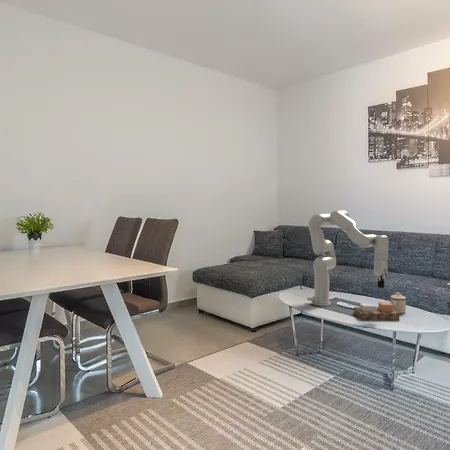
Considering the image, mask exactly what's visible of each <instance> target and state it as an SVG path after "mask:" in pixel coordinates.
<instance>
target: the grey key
mask: <svg viewBox="0 0 450 450" xmlns="http://www.w3.org/2000/svg"><path fill="white" fill-rule="evenodd" d="M359 307H360V310H361V311H363V312H374V307H375V305H373V304H372V303H364V302H362V303H359Z"/></svg>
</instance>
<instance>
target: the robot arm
mask: <svg viewBox="0 0 450 450" xmlns="http://www.w3.org/2000/svg"><path fill="white" fill-rule="evenodd" d="M329 226H330V227H331V226H332V227H333V226H337V227H338V228H340V230H342V231H343V232H344V233H346V235H347V236H348V238H349V239H350V240H351V241H352V242H353V243H354V244H356V245H357V246H358V247H360V248H364V249H365V248H373V247H374V255H373V256H374V257H373V259H374V262H373V274H374V276H376V277H377V287H378V288H379V289H383V288H385V280H386V278H387V277H388V275H389V274H388V273H389V270H388V267H389V266H388V260H389V237H388V235H384V234H382V235H380V234H379V235H377V234H373V233H369V234H364V233H362V232H361V231H360V230H359V229H358V228H356V226H357V222H356V221H355V220H353V219H352V218H350V214H349V213H348V212H347V211H346V210H333V211H332V212H328V213H316V214H314V215H312V216H311V217H310V219H309V220H308V230H309V234H310V240H311V247H312V251H313V253H314V254H315V255H319V257H316V258H315V259H314V260H313V264H312V266H313V271H314V273H313V274H314V286H313V288H314V289H313V290H314V291H313V294H314V295H313V296H312V297H309V296H308V297H306V300H307V301H310V302H311V304H313V305H315V306H320V307H328V306H331V305H332V302H331V301H330V274H329V270H332V269H334V268H336V265H337V258H336V252H335V246H334V244H333V242H332V241H331V240H330V239H326V238H325V235H324V231H323V229H322V227H329ZM320 255H321V256H320Z"/></svg>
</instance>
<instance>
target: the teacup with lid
mask: <svg viewBox="0 0 450 450" xmlns="http://www.w3.org/2000/svg"><path fill="white" fill-rule="evenodd" d="M389 298H390V302H389V303H391V304H392V305H393V309H394V310H395V311H397V312H398V313H400V314H404V313H406V304H407V302H406V301H407V297H406V296H404V295H402V294H401V292H396V293H395V294H392V295H391V296H390V297H389Z"/></svg>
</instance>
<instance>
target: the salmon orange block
mask: <svg viewBox="0 0 450 450" xmlns="http://www.w3.org/2000/svg"><path fill="white" fill-rule="evenodd" d="M377 305H378V306H377V307H378V309H379V310H380V311H381V312H393V305H392V304H391V303H390V302H389V301H387V302H386V301H378V304H377Z"/></svg>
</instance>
